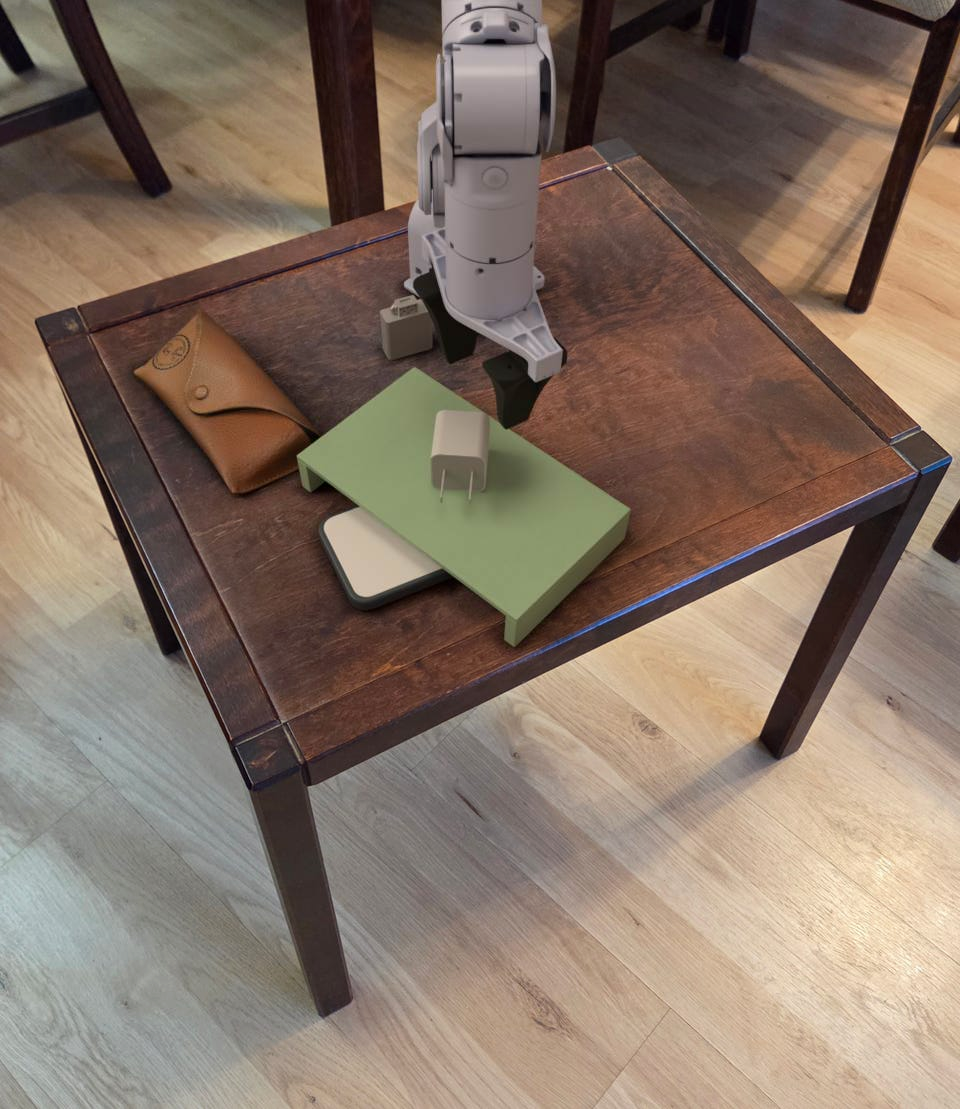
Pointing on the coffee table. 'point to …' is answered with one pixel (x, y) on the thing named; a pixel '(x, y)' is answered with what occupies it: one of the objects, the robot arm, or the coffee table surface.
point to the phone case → (374, 559)
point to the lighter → (405, 328)
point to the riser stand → (492, 517)
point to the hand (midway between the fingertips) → (486, 388)
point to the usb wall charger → (460, 451)
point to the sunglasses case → (228, 405)
